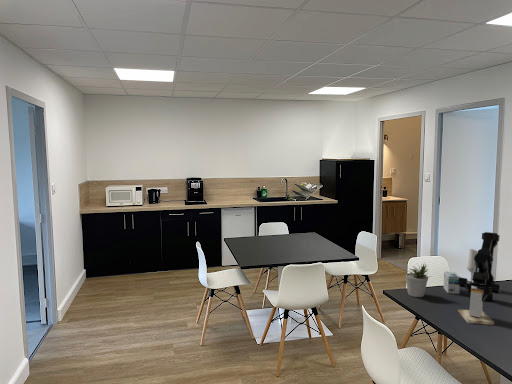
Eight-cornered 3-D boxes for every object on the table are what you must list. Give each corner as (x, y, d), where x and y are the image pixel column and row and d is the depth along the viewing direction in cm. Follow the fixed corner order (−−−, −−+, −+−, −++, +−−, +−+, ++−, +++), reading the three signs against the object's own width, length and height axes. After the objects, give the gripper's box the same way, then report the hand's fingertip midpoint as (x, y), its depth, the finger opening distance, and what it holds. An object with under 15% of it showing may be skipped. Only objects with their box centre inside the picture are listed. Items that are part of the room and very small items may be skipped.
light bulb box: (459, 294, 235) (460, 276, 234) (447, 293, 236) (448, 276, 235) (454, 288, 245) (455, 271, 244) (442, 287, 246) (443, 271, 245)
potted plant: (419, 300, 223) (421, 266, 221) (400, 293, 235) (401, 261, 233) (433, 297, 230) (435, 263, 228) (413, 290, 241) (415, 258, 240)
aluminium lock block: (470, 313, 202) (472, 288, 202) (481, 315, 199) (483, 290, 199) (469, 314, 198) (471, 289, 198) (480, 317, 195) (482, 291, 195)
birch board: (482, 313, 205) (482, 310, 205) (494, 324, 192) (494, 321, 191) (458, 312, 207) (458, 309, 207) (468, 323, 193) (468, 320, 193)
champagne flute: (479, 289, 245) (481, 251, 242) (468, 288, 245) (470, 251, 243) (473, 285, 251) (475, 248, 249) (462, 285, 251) (465, 248, 249)
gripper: (459, 262, 206) (454, 288, 198) (501, 268, 194) (496, 296, 187) (461, 273, 213) (456, 298, 205) (502, 280, 201) (497, 307, 194)
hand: (476, 300), depth 198 cm, fingers closed on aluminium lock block, 5 cm apart
